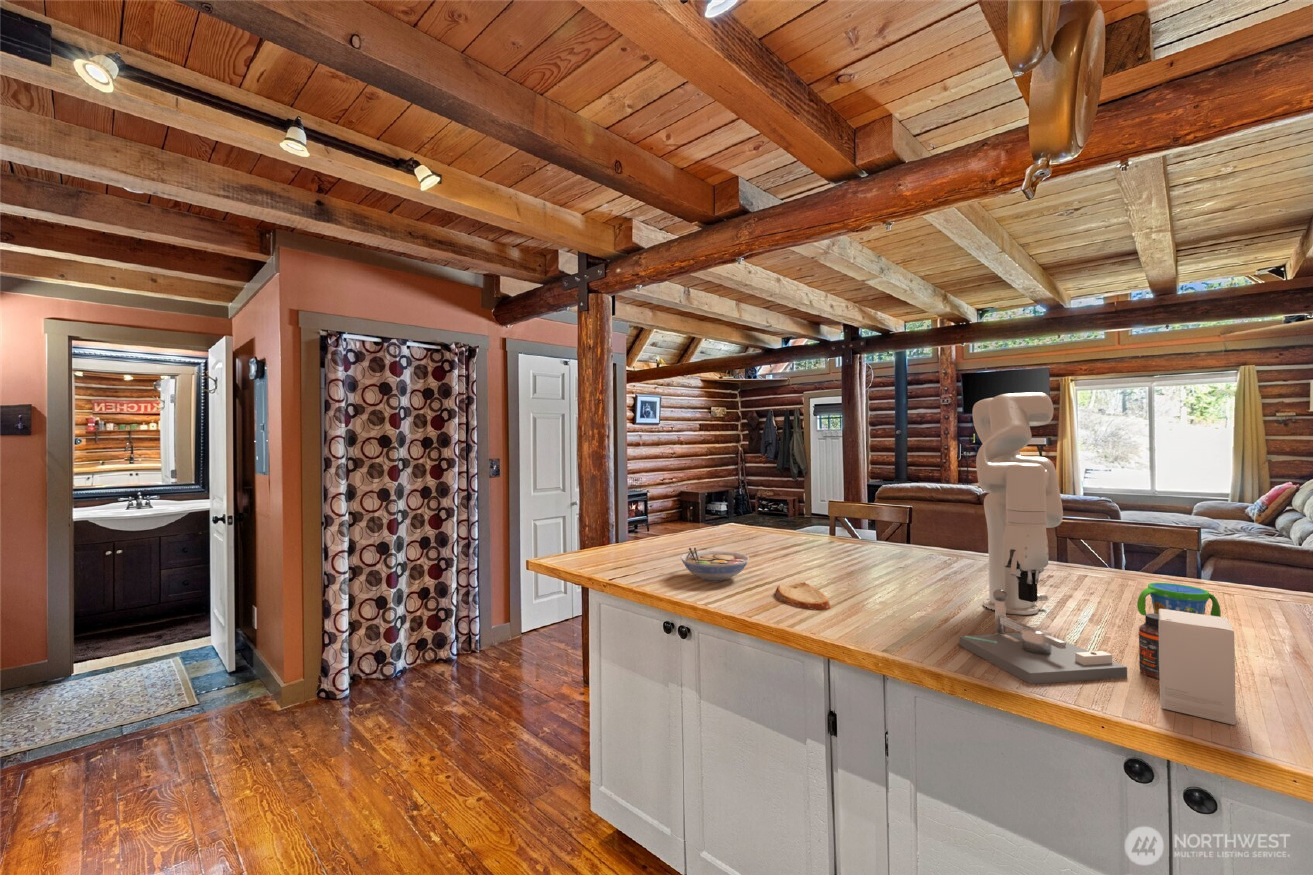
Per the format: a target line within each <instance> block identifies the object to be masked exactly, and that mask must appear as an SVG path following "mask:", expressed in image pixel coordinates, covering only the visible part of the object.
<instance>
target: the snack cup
mask: <svg viewBox="0 0 1313 875" xmlns="http://www.w3.org/2000/svg"><path fill="white" fill-rule="evenodd" d="M1149 595H1150V599H1151V604H1152V609H1153V614H1159V609H1168V610H1175V611H1181V612H1188V613H1195V614H1202V615H1206V614H1205V613H1206V605H1207V602H1208V601H1209V599H1210V600H1211V604H1212V606H1211V609H1210V613H1209V614H1210V616H1218V617H1221V615H1222V613H1221V612H1222V611H1221V606H1220V603H1219V601H1218V598H1216V596H1215V595H1214V594H1212V593H1210V592H1209V591H1208V590H1207V589H1203V588H1199V587H1196V586H1191V585H1187V584H1186V585H1185V584H1180V583H1179V584H1178V583H1171V582H1170V583H1169V582H1151V583H1150V582H1149V583H1148V584H1147V588H1144V589H1143V590H1142V591H1141V592H1140V594H1139V596H1138V598H1137V603H1136V604H1137V611H1138V612H1139V614H1140V615H1142V616H1145V615H1146V614H1147V611H1146V604H1147V603H1146V600H1147V599H1146V598H1147V596H1149Z"/></svg>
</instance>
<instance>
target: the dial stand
mask: <svg viewBox="0 0 1313 875" xmlns="http://www.w3.org/2000/svg"><path fill="white" fill-rule="evenodd" d="M1051 636H1052V637H1054V638H1057V639H1059V640H1061V641H1064V642H1066V649H1059V648H1057V647H1055V646H1052V645H1051V651H1052V652H1051V653H1046V654H1043V653H1035V652H1031V651H1028V650H1025V649H1024V648H1022V633H1021V632H1011V633H1007V632H1006V634H999V633H992V634H989V633H988V634H976V635H975V634H973V635H958V642H959V643H958V644H959V646H960V647H962V648H963V649H966V650H967V651H969V652H971V653H973V654H974V655H977V656H978V657H981V658H982V659H984V660H986V661H988V662H990V664H991V663H992V665H995V666H997V667H999V668H1000V669H1002V670H1004V671H1005V672H1008V673H1010V674H1012V675H1013V676H1015V677H1016V678H1018V679H1021V680H1023V681H1024V682H1025V683H1028V684H1030V685H1037V684H1039V685H1040V684H1052V683H1066V682H1082V681H1083V682H1084V681H1097V680H1112V679H1113V680H1116V679H1128V667H1127V666H1125V665H1123V664H1121V663H1118V662H1116V661H1113V654H1111V653H1109V652H1106V651H1104V650H1099V651H1097V650H1096V651H1095V650H1094V651H1089V650H1087V649H1084V648H1082V647H1080V646H1077V645H1075V644H1073V643H1070V642H1068V641H1065V640H1063V639H1060V638H1058V637H1056V636H1053V635H1051Z"/></svg>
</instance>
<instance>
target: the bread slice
mask: <svg viewBox="0 0 1313 875" xmlns="http://www.w3.org/2000/svg"><path fill="white" fill-rule="evenodd" d="M774 594H775V596H776V598H777V599H778V600H780V601H781V602H784V603H786V602H787V603H786V604H787V605H790V606H793V607H794V606H795V607H796V606H797V607H796V608H802V609H805V610H811V609H816V610H815V611H828V610H831V609H832V607H831V604H830V601H829V599H828V597H827V596H826V595H825V594H824V593H823V592H821V591H820V590H819V589H817V588H815V587H814V586H812V585H810V584H809V583H806V581H804V582H800V583H799V582H798V583H795V584H792V585H788V586H783V585H780V584H779V585H777V587H776V589H775V592H774Z"/></svg>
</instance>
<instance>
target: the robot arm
mask: <svg viewBox="0 0 1313 875" xmlns="http://www.w3.org/2000/svg"><path fill="white" fill-rule="evenodd" d="M1054 410H1055V409H1054V405H1053V401H1052V399H1051V397H1050V396H1049V395H1048V394H1047V393H1044V392H1040V391H1039V392H1035V391H1034V392H1033V391H1032V392H1014V393H1002V394H999V395H996V396H994V397H988V398H984V399H981V400H980V399H979V401H977V402H975V403H974V404H973V407H972V421H973V426H974V428H975V431H976V433H977V436H978V438H979V440H980V441H981V446H980V447H979V449H978V451H977V454H976V460H975V465H976V476H977V482H978V485H979V487H980V489H981V490H982V491H983V492H985V493H987V494H986V496H985V497H984V499H983V508H984V515H985V521H986V528H987V543H988V545H987V546H988V588H989V589H988V594H989V595H988V596H989V597H988V598H984V599H983V600H982V605H983V606H984V607H985V608H986V607H987V609H989V610H991V609H992V610H991V611H994V610H995V599H994V598H993V592H994V591H995V590H997V589H1002V590H1004V591H1005V592H1006V593H1007V596H1008V597H1007V600H1006V614H1010V615H1019V616H1020V615H1021V616H1025V615H1027V616H1028V615H1036V614H1037V613H1039V606H1038V605H1036V603H1038V602H1047V601H1048V600H1049V597H1048V595H1047V594H1046V593H1038V583H1039V578H1040V575H1041V573H1043V572H1044V571H1045V568H1047V566H1048V565H1049V542H1048V535H1047V529H1048V528H1056V527H1059V526H1060V525H1061V523H1062V522H1063V516H1064V511H1063V510H1064V509H1063V503H1062V497H1061V491H1060V485H1059V481H1058V475H1057V470H1056V467H1055V465H1054V463H1053V462H1052V461H1051V459H1050V458H1047V457H1044V456H1022V455H1021V453H1020V452H1021V451H1020V450H1022V449H1024V448H1025V447H1027V446H1028V444H1030V442H1031V440H1032V431H1031V427H1039V426H1045V425H1048V424H1049V423H1050V422H1051V421H1052V419H1053V417H1054Z"/></svg>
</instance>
